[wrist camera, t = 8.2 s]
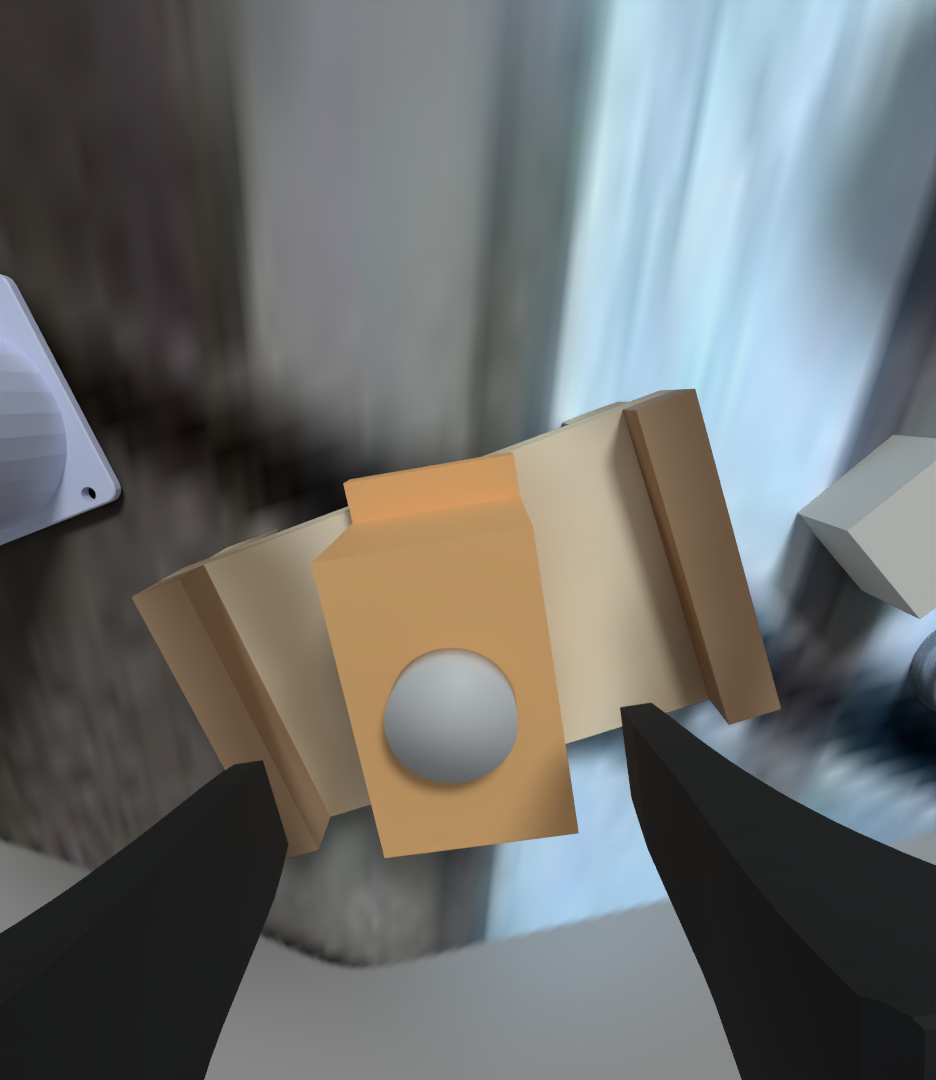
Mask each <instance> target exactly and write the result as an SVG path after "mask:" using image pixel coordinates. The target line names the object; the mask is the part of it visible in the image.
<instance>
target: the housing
mask: <svg viewBox="0 0 936 1080" xmlns="http://www.w3.org/2000/svg"><path fill="white" fill-rule="evenodd" d="M343 484H344V488H345V492H346V497H347V501H348V506H349V510H350V514H351V519H352V524H351V525H350V526H349V527H348V528H347V529H346V530H345V531H344V532H343V533H342V534H341V535H340V536H339V537H338V538H337V539H336V540H335V541H334V542H333V543H331V544H330V545H329V546H328V547H327V548H326V549H325V550H324V551H323V552H322V553H321V554H320V555H319V556H318V557H317V558H316V559H315V560H314V561H313V562H312V563H311V565H312V569H313V573H314V577H315V581H316V585H317V589H318V593H319V597H320V601H321V605H322V609H323V613H324V617H325V621H326V625H327V629H328V633H329V637H330V641H331V645H332V649H333V653H334V657H335V661H336V665H337V669H338V673H339V677H340V681H341V685H342V689H343V693H344V697H345V701H346V705H347V709H348V713H349V718H350V722H351V726H352V730H353V734H354V738H355V742H356V746H357V750H358V754H359V758H360V762H361V766H362V770H363V774H364V778H365V782H366V786H367V790H368V794H369V798H370V802H371V806H372V810H373V814H374V818H375V822H376V826H377V830H378V834H379V838H380V842H381V846H382V850H383V854H384V858H390V857H398V856H406V855H413V854H421V853H429V852H437V851H445V850H452V849H460V848H468V847H476V846H483V845H491V844H499V843H507V842H514V841H522V840H530V839H538V838H546V837H553V836H561V835H569V834H577V833H579V832H578V825H577V819H576V812H575V805H574V798H573V792H572V785H571V778H570V772H569V765H568V758H567V751H566V745H565V738H564V731H563V725H562V718H561V711H560V704H559V698H558V691H557V684H556V678H555V671H554V664H553V657H552V651H551V644H550V637H549V630H548V624H547V617H546V610H545V604H544V597H543V590H542V583H541V577H540V570H539V563H538V557H537V550H536V543H535V536H534V530H533V526H532V523H531V521H530V518H529V516H528V514H527V511H526V509H525V506H524V504H523V502H522V499H521V497H520V493H519V486H518V479H517V473H516V466H515V460H514V454H513V452H508V453H502V454H496V455H490V456H484V457H479V458H473V459H467V460H461V461H455V462H449V463H444V464H438V465H432V466H426V467H420V468H415V469H409V470H403V471H397V472H391V473H385V474H380V475H374V476H368V477H362V478H356V479H350V480H348V481H347V482H345V483H343Z"/></svg>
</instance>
